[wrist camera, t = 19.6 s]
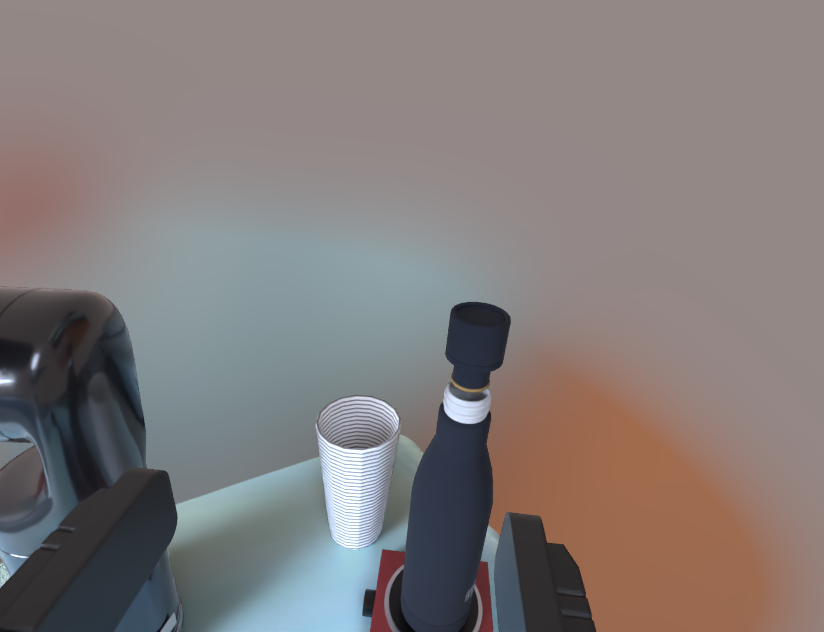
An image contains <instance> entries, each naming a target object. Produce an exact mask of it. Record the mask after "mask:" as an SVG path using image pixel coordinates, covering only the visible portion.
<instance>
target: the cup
mask: <svg viewBox="0 0 824 632" xmlns="http://www.w3.org/2000/svg"><path fill="white" fill-rule="evenodd" d="M315 424H316V430H317V438H318V446H319V454H320V462H321V469H322V477H323V485H324V492H325V500H326V508H327V515H328V523H329V529H330V533H331V537H332V538H333V539H334V541H335V542H336V543H337V544H338V545H340V546H342V547H344V548H346V549H353V550H359V549H362V548H366V547H368V546H370V545H371V544H372V543H374V542H375V541H376V540H377V538H378V537H379V535H380V533H381V531H382V525H383V520H384V515H385V509H386V504H387V499H388V493H389V488H390V483H391V477H392V472H393V467H394V461H395V456H396V451H397V445H398V440H399V435H400V428H401V418H400V416H399V414H398V412H397V410H396V409H395V408H394V407H393V406H391V405H390V404H388V403H387V402H386V401H384V400H381V399H378V398H375V397H372V396H361V395H354V396H349V397H343V398H339V399H337V400H335V401H333V402H331V403H329V404H328V405H326V407H324V408H323V409H322V410H321V411H320V412H319V414H318V417H317V420H316V423H315Z"/></svg>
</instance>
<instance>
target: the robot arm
mask: <svg viewBox="0 0 824 632" xmlns="http://www.w3.org/2000/svg"><path fill="white" fill-rule="evenodd" d="M0 442H26V443H33V444H34V446H32V447H30V448H29V449H27V450H25V451H24V452H22V453H20V454H19V455H18V456H16V457H15V458H13V459H12V460H11V461H9V462H8V463H7V464H6V465H5V466H4V467H2V468H1V469H0V557H1V559H2V561H3V563H4V565H5V567H6V569H7V571H8V573H9V575H10V578H9V579H8V580H7V581H6V583H5V584H4V585H3V586H2V587H1V588H0V632H181V629H182V625H183V609H182V605H181V601H180V598H179V596H178V594H177V590H176V586H175V581H174V577H173V573H172V568H171V564H170V560H169V556H168V552H167V547H168V545H169V544H170V542H171V540H172V538H173V535H174V533H175V530H176V525H177V511H176V506H175V502H174V498H173V493H172V488H171V483H170V479H169V475H168V473H167V472H166V471H162V470H154V469H147V467H146V429H145V423H144V416H143V410H142V405H141V399H140V393H139V387H138V380H137V373H136V366H135V359H134V353H133V348H132V342H131V339H130V335H129V331H128V328H127V326H126V323H125V321H124V319H123V317H122V315H121V313H120V312H119V310H118V309H117V307H116V306H115V305H114V304H113V303H112V302H111V301H110V300H109V299H107V298H106V297H104V296H103V295H101V294H98V293H95V292H90V291H84V290H72V289H50V288H28V287H7V286H0ZM494 583H495V595H496V606H497V617H498V628H499V632H596V628H595V625H594V621H593V620H592V614H591V610H590V606H589V603H588V599H587V598H586V592H585V588H584V585H583V581H582V577H581V573H580V570H579V567H578V565H577V564H576V562H575V561H574V560H573V558H572V557H571V555H570V554H569V552H568V551H567V549H566V548H565V546H564V545H563V544H554V543H547V541H546V536H545V532H544V528H543V523H542V520H541V518H540V516H535V515H527V514H518V513H509V512H507V513H506V515H505V518H504V523H503V527H502V531H501V535H500V539H499V543H498V547H497V552H496V557H495V566H494Z"/></svg>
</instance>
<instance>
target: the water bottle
mask: <svg viewBox="0 0 824 632" xmlns="http://www.w3.org/2000/svg"><path fill="white" fill-rule="evenodd" d="M510 323H511V319H510V316H509V315H508V313H506V312H505V311H504V310H503V309H501V308H499V307H497V306H494V305H491V304H487V303H481V302H467V303H460V304H458V305H455V306H454V307H453V308H452V310H451V314H450V322H449V329H448V337H447V345H446V353H445V355H446V357H447V359H448V360H449V361H450V362H451V363H452V364H453V365H454V369H453V373H452V376H451V381H450V382H449V383H448V386H447V387H446V389H445V391H444V399H443V402H442V403H441V405H440V408H439V414H438V421H437V430H436V435H435V436H434V438H433V439H432V441H431V443H430V444H429V446H428V448H427V449H426V451H425V453H424V454H423V456H422V459H421V461H420V464H419V466H418V469H417V472H416V475H415V478H414V482H413V486H412V494H411V503H410V513H409V522H408V532H407V541H406V551H405V560H404V570H403V579H402V589H401V598H400V601H401V609H402V613H403V615H404V617H405V619H406V622H407V623H408V624H409V625H410V626H411V627H412V628H413V630H414V631H416V632H458V631H459V630H460V629H461V628H462V627H463V626H464V625H465V622H466V620H467V617H468V615H469V610H470V606H471V601H472V596H473V592H474V587H475V583H476V578H477V573H478V569H479V564H480V560H481V555H482V550H483V546H484V541H485V537H486V532H487V527H488V523H489V518H490V514H491V509H492V504H493V478H492V467H491V463H490V458H489V453H488V449H487V445H486V443H487V438H488V432H489V427H490V422H491V413H490V403H491V395H490V389H489V383H490V380H489V377H490V372H491V371H494V370H496V369H498V368H500V366H501V365H502V363H503V359H504V354H505V348H506V344H507V338H508V333H509V328H510Z"/></svg>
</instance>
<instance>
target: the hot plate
mask: <svg viewBox="0 0 824 632" xmlns="http://www.w3.org/2000/svg"><path fill="white" fill-rule="evenodd" d="M404 560H405V552H400V551H392V550H384V549H383V550H382V555H381V562H380V568H379V575H378V582H377V588H376V590H370V589H366V591H365V597H364V603H363V613H362V615H363V616H366V617H372V621H371V628H370V632H416V631H414V630H413V628H412V627H411V626H410V625H409V624H408V623H407V622H406V619H405V617H404V615H403V613H402V609H401V601H400V598H401V589H402V579H403V570H404ZM458 632H493V622H492V610H491V597H490V585H489V572H488V562H483V561H480V564H479V569H478V573H477V578H476V583H475V587H474V592H473V596H472V601H471V606H470V610H469V615H468V617H467V620H466V622H465V625H464V626H463V627H462V628H461V629H460V630H459V631H458Z"/></svg>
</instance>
